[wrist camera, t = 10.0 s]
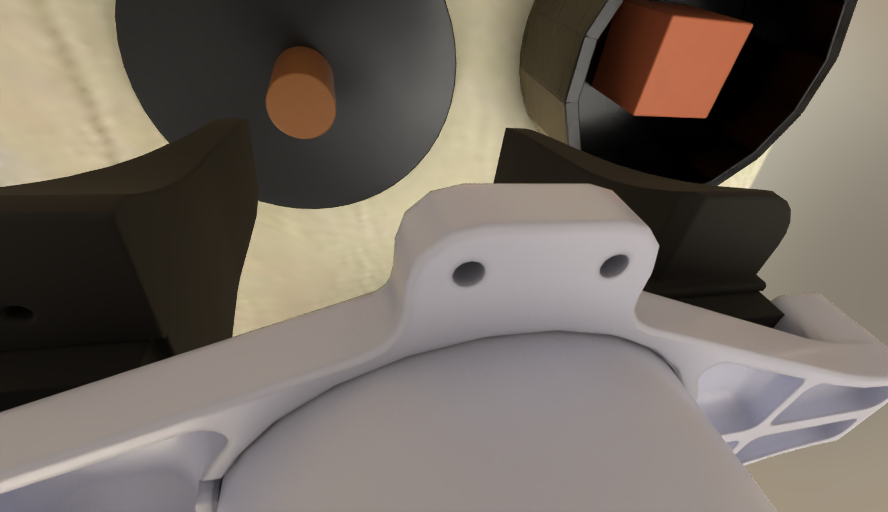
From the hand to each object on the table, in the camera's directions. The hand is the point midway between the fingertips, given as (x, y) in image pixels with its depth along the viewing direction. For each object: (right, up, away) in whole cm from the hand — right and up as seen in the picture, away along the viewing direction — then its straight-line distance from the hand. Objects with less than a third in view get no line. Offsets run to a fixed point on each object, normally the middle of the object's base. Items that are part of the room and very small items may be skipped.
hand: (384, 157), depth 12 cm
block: (+11, +7, +9) cm, 16 cm away
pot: (+11, +8, +9) cm, 17 cm away
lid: (-4, +5, +6) cm, 9 cm away
